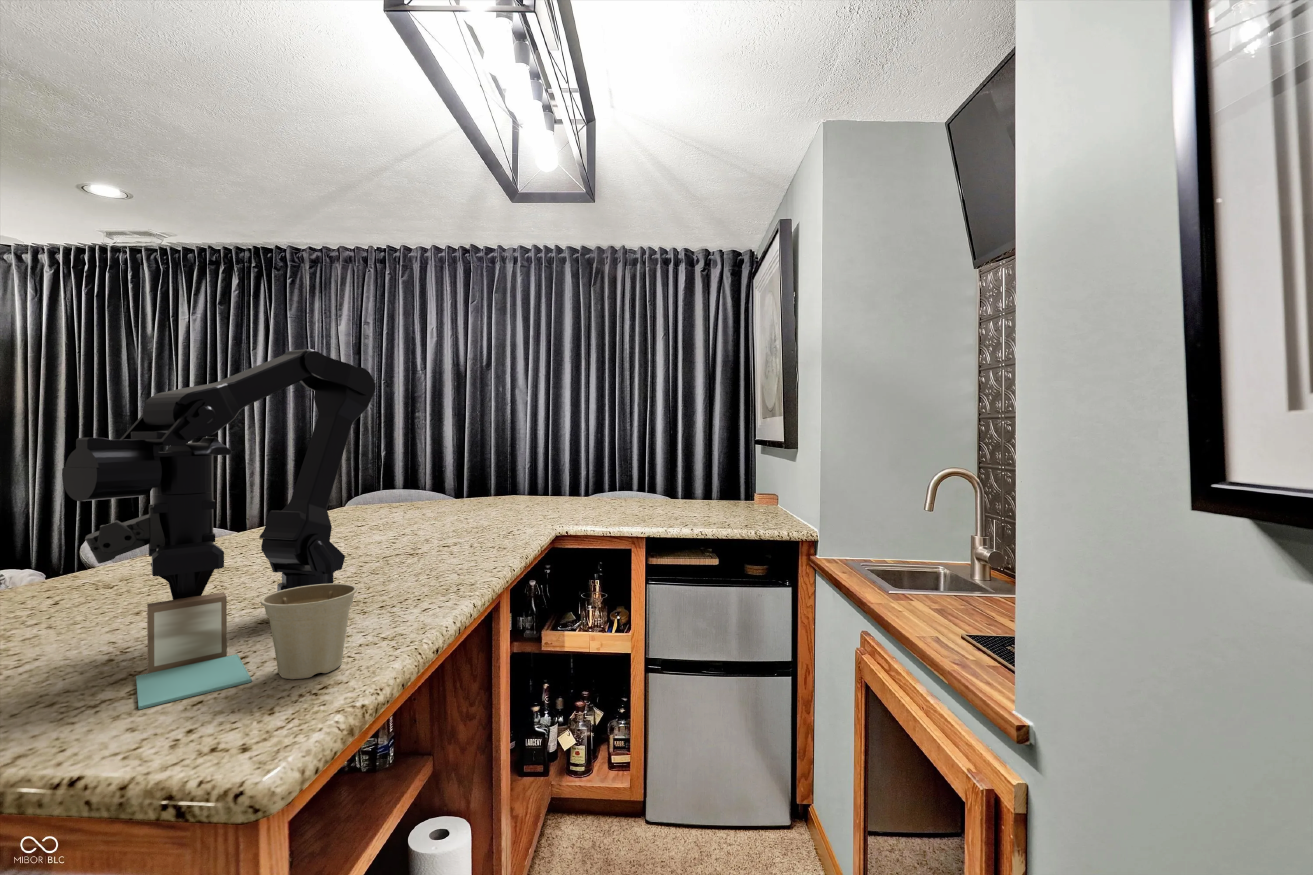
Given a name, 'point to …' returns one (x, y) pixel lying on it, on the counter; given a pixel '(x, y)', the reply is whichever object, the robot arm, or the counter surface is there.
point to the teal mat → (190, 680)
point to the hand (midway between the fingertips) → (183, 619)
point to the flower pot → (309, 627)
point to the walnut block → (186, 631)
